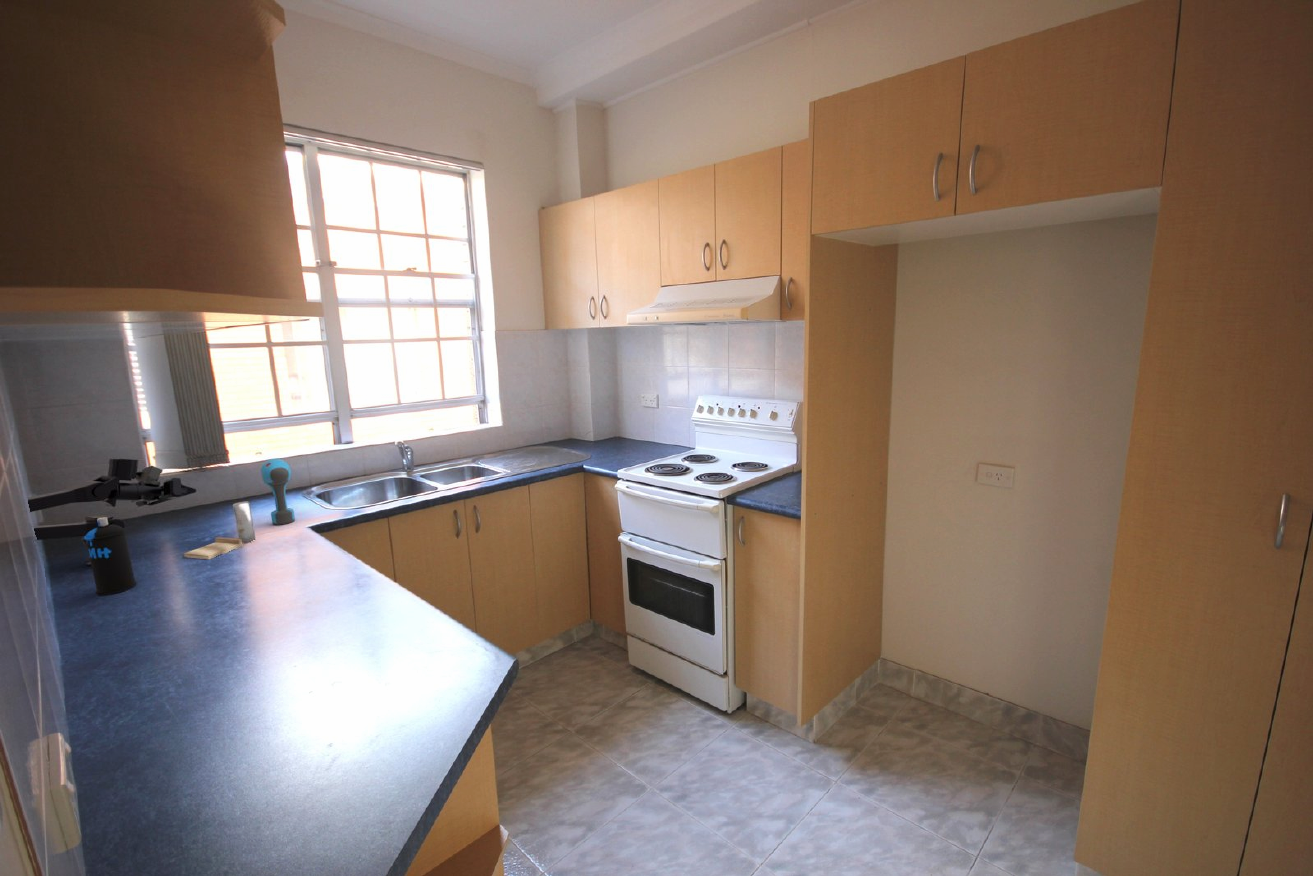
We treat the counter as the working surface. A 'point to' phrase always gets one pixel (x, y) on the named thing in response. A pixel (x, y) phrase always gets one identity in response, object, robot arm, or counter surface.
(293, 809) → the counter surface
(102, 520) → the aerosol can
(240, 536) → the rod
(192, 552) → the wooden tray
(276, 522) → the power drill
